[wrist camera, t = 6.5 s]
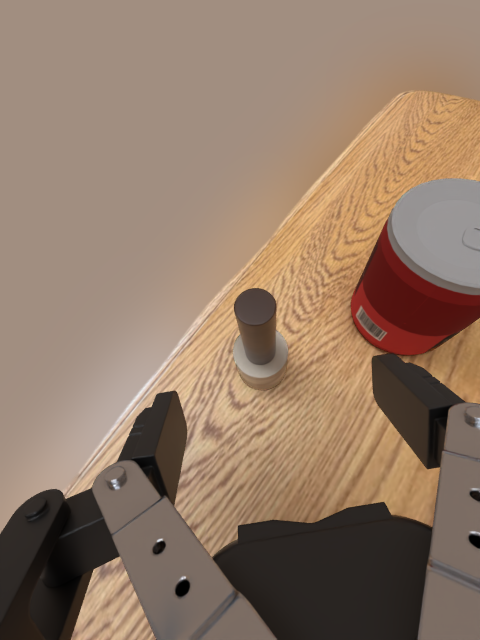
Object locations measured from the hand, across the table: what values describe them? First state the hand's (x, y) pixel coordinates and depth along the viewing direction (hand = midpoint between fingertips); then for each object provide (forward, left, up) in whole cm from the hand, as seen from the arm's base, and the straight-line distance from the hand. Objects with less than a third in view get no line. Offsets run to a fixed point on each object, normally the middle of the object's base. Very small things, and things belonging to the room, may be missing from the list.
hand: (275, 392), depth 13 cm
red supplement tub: (+14, +1, -13) cm, 19 cm away
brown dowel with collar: (+2, +4, -12) cm, 13 cm away
